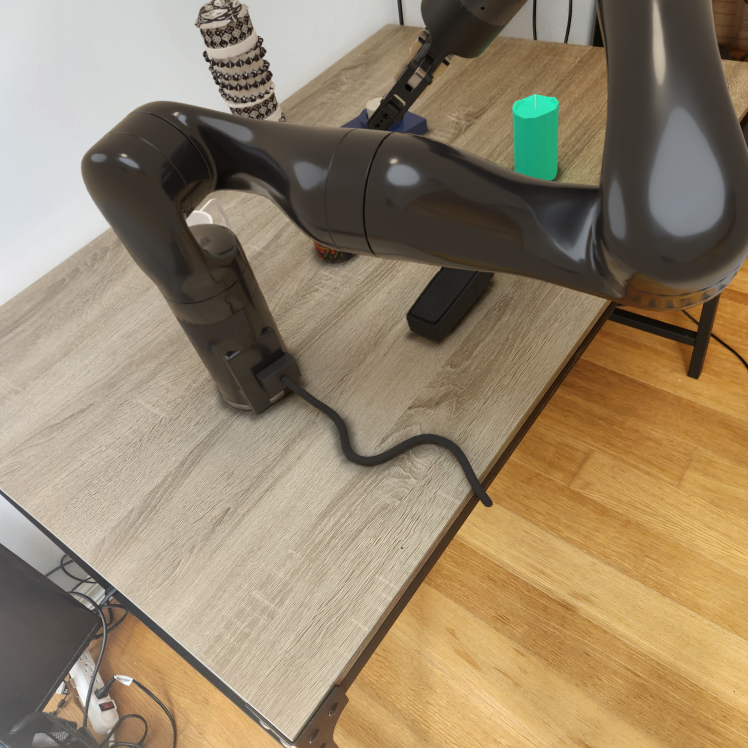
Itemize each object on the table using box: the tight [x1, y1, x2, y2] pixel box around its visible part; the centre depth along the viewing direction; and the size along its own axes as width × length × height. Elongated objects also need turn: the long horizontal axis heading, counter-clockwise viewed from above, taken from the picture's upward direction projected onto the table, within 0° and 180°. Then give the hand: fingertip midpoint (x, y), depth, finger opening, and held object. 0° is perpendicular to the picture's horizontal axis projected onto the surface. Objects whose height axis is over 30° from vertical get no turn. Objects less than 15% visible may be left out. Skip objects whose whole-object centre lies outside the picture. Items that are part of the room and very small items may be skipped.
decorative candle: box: [194, 0, 287, 122], centre depth 101 cm, size 9×9×25 cm
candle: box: [511, 93, 560, 181], centre depth 89 cm, size 6×6×12 cm
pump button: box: [365, 96, 383, 118], centre depth 105 cm, size 4×4×2 cm
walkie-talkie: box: [405, 267, 495, 344], centre depth 78 cm, size 6×6×20 cm
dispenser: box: [339, 107, 429, 136], centre depth 107 cm, size 11×10×4 cm
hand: (388, 108), depth 71 cm, fingers open, 8 cm apart
